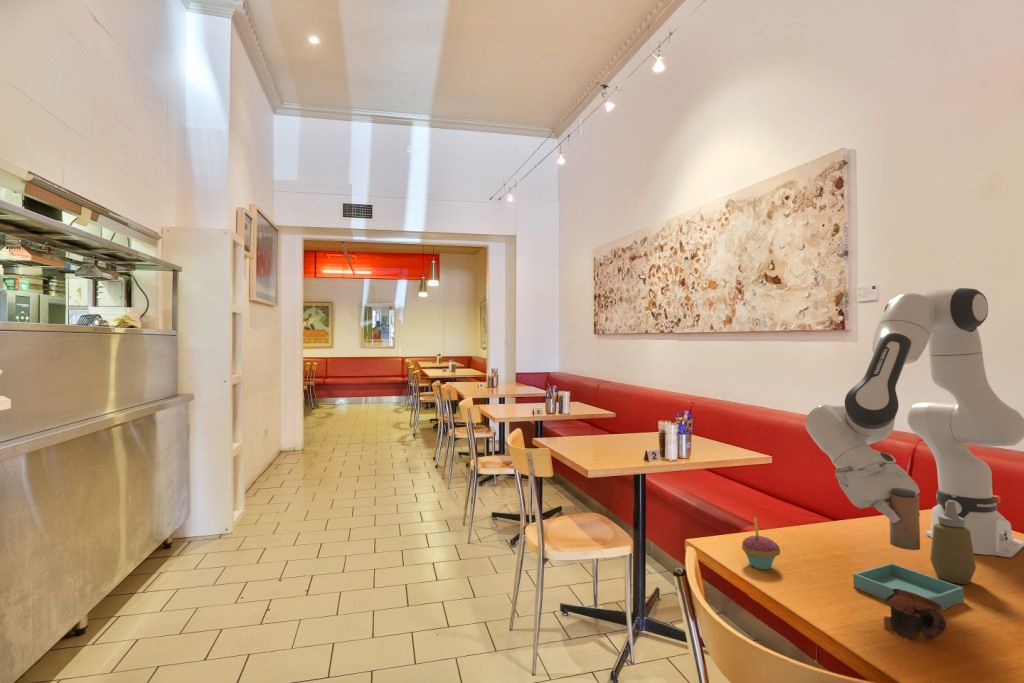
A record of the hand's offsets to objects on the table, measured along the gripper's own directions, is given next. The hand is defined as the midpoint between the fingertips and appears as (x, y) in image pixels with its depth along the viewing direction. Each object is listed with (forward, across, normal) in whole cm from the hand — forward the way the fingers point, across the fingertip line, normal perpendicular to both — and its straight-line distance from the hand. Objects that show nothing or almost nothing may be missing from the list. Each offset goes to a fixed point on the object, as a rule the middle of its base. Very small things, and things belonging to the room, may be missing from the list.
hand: (907, 519), depth 110 cm
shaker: (+4, 0, +5) cm, 6 cm away
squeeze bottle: (+11, +18, +12) cm, 25 cm away
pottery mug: (+18, -15, +5) cm, 24 cm away
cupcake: (-6, -16, +29) cm, 34 cm away
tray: (+11, 0, +12) cm, 16 cm away
